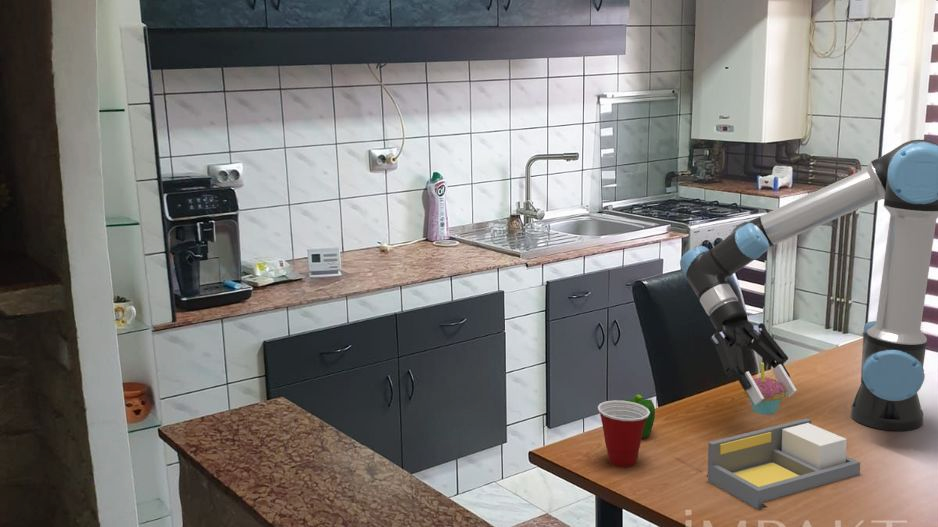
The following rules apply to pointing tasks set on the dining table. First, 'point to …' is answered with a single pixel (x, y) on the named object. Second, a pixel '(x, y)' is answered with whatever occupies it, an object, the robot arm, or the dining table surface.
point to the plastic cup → (623, 430)
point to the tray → (767, 467)
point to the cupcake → (768, 394)
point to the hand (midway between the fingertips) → (775, 397)
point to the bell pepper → (651, 417)
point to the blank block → (814, 446)
